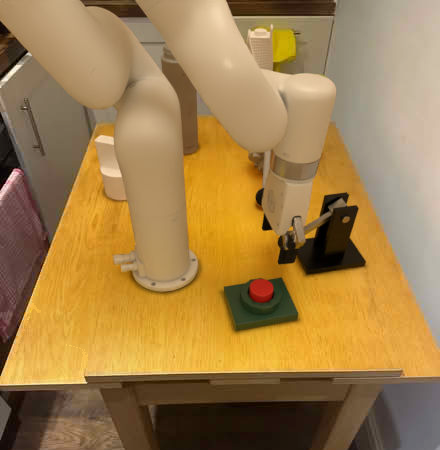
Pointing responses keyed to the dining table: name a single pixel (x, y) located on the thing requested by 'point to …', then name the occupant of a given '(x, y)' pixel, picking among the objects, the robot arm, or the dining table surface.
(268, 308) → the button box
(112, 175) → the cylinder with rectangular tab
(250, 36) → the skyscraper
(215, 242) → the dining table surface
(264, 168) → the mechanical valve
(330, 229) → the bracket
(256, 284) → the button
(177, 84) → the thermos bottle
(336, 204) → the lever
